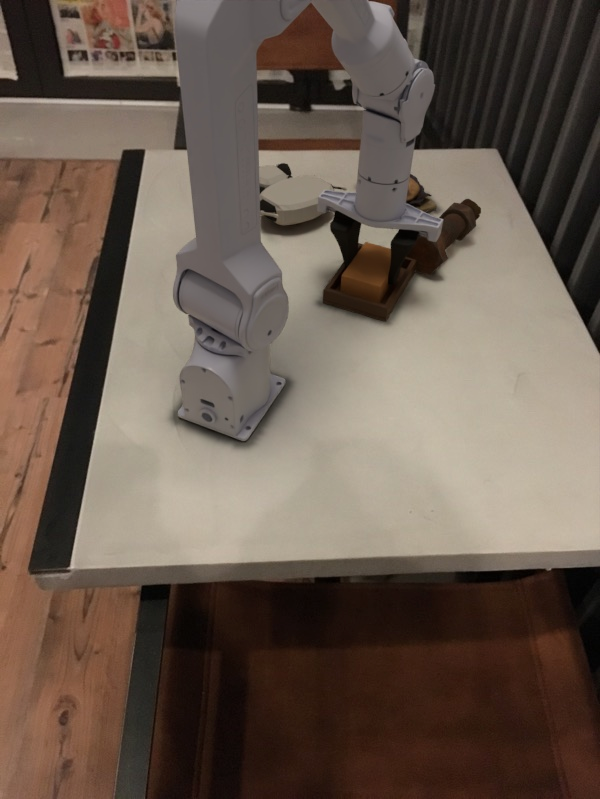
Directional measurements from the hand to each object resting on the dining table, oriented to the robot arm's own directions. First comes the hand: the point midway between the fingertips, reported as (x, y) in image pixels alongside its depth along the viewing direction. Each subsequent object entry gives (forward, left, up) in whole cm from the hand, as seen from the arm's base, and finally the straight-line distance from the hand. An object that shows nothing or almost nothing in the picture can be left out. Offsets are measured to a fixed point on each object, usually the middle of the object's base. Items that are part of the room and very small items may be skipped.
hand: (371, 274), depth 84 cm
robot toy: (+12, +18, -2) cm, 22 cm away
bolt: (+12, -6, -2) cm, 14 cm away
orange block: (0, 0, -1) cm, 1 cm away
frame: (0, 0, -2) cm, 2 cm away
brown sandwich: (+22, +4, -2) cm, 22 cm away
